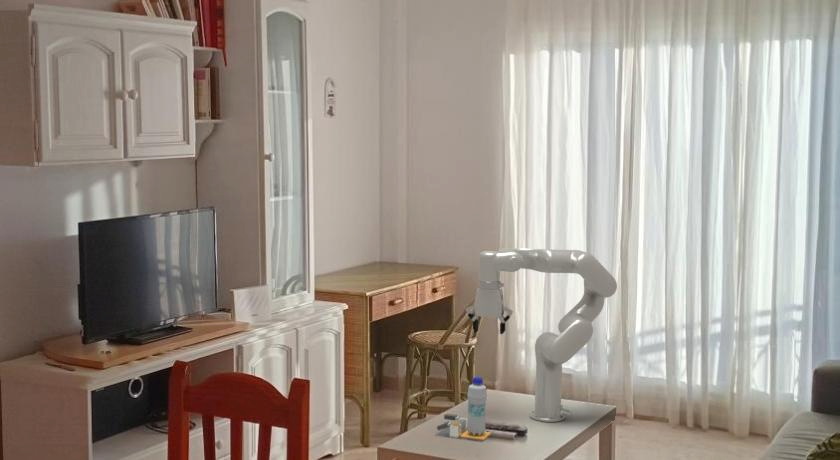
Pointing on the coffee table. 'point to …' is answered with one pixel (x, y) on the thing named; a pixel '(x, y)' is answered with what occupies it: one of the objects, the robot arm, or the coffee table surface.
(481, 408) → the bottle
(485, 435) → the pad
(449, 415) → the lever
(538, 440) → the coffee table surface
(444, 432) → the panel
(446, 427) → the lever
